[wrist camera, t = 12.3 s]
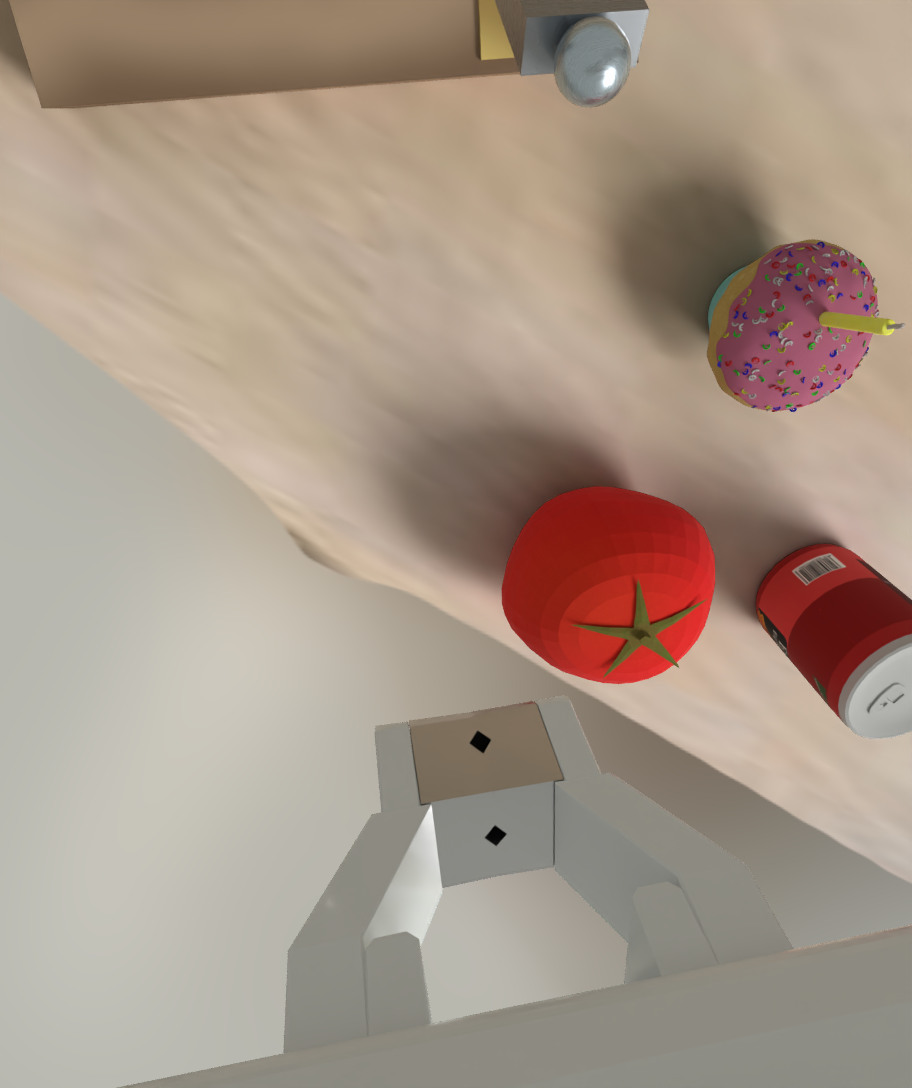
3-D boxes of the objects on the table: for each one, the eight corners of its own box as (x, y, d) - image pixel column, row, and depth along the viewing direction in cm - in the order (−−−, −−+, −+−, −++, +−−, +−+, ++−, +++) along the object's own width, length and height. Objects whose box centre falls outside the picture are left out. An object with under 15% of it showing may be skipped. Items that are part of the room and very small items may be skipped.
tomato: (640, 617, 52) (707, 724, 43) (471, 605, 49) (506, 717, 40) (696, 471, 46) (786, 558, 37) (510, 447, 43) (560, 536, 35)
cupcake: (686, 232, 39) (817, 277, 29) (837, 221, 40) (1015, 261, 30) (669, 390, 43) (776, 477, 33) (805, 377, 44) (950, 458, 34)
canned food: (730, 617, 53) (819, 726, 44) (797, 525, 50) (908, 622, 40) (809, 643, 56) (909, 752, 46) (878, 557, 52) (1000, 655, 43)
